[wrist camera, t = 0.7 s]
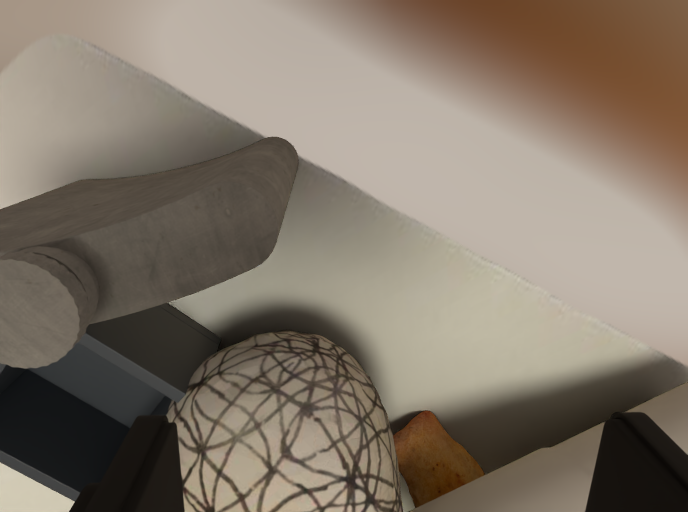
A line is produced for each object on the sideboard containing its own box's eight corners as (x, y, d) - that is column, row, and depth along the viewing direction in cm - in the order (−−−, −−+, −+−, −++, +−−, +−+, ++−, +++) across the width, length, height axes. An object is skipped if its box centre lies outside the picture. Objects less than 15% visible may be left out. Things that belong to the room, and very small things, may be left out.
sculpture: (212, 529, 43) (158, 749, 28) (171, 313, 36) (75, 454, 22) (392, 513, 43) (428, 722, 29) (381, 295, 37) (420, 424, 23)
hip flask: (292, 131, 33) (254, 185, 14) (306, 191, 34) (290, 315, 15) (57, 185, 34) (-285, 307, 15) (80, 242, 35) (-207, 424, 16)
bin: (93, 255, 35) (31, 300, 28) (221, 338, 38) (196, 401, 30) (19, 363, 37) (-58, 432, 30) (144, 435, 40) (103, 516, 32)
